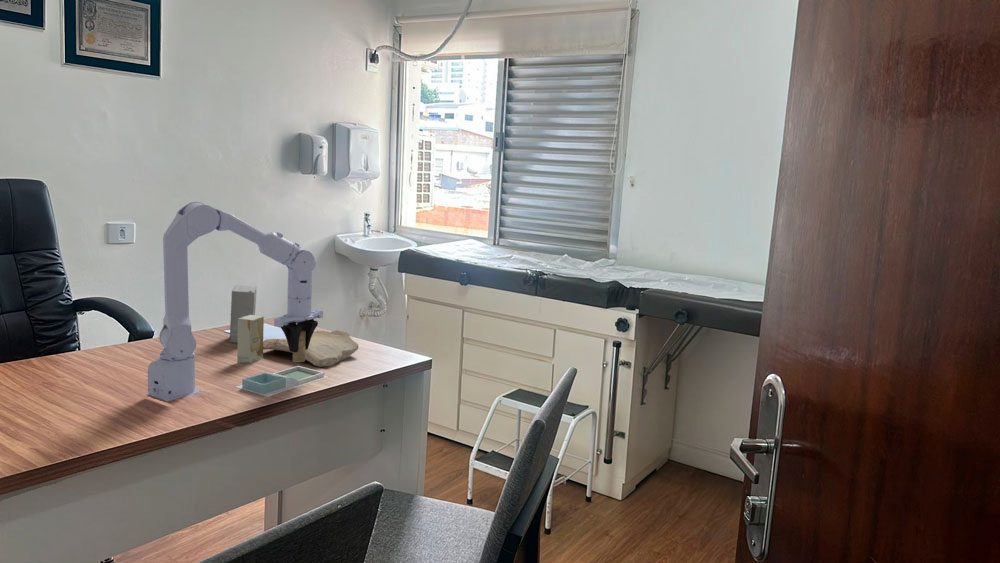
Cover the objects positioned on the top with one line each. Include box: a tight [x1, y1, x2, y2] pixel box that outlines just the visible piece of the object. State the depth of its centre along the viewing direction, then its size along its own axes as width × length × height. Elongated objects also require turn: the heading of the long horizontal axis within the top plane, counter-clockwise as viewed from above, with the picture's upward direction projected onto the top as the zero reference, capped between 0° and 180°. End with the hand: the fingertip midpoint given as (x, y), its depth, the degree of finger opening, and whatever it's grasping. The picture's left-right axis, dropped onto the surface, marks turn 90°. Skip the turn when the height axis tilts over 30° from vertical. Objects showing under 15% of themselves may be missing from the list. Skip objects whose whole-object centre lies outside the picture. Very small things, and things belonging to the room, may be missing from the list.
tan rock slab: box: [263, 329, 359, 368], centre depth 200 cm, size 24×8×20 cm
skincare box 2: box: [236, 314, 265, 364], centre depth 190 cm, size 6×4×12 cm
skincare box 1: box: [229, 284, 257, 344], centre depth 211 cm, size 8×7×16 cm
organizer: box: [235, 365, 329, 398], centre depth 174 cm, size 20×11×2 cm, turn 151°
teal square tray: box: [241, 372, 286, 394], centre depth 169 cm, size 7×7×2 cm
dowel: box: [292, 330, 306, 363], centre depth 177 cm, size 3×3×8 cm
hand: (298, 350), depth 177 cm, fingers closed on dowel, 3 cm apart
